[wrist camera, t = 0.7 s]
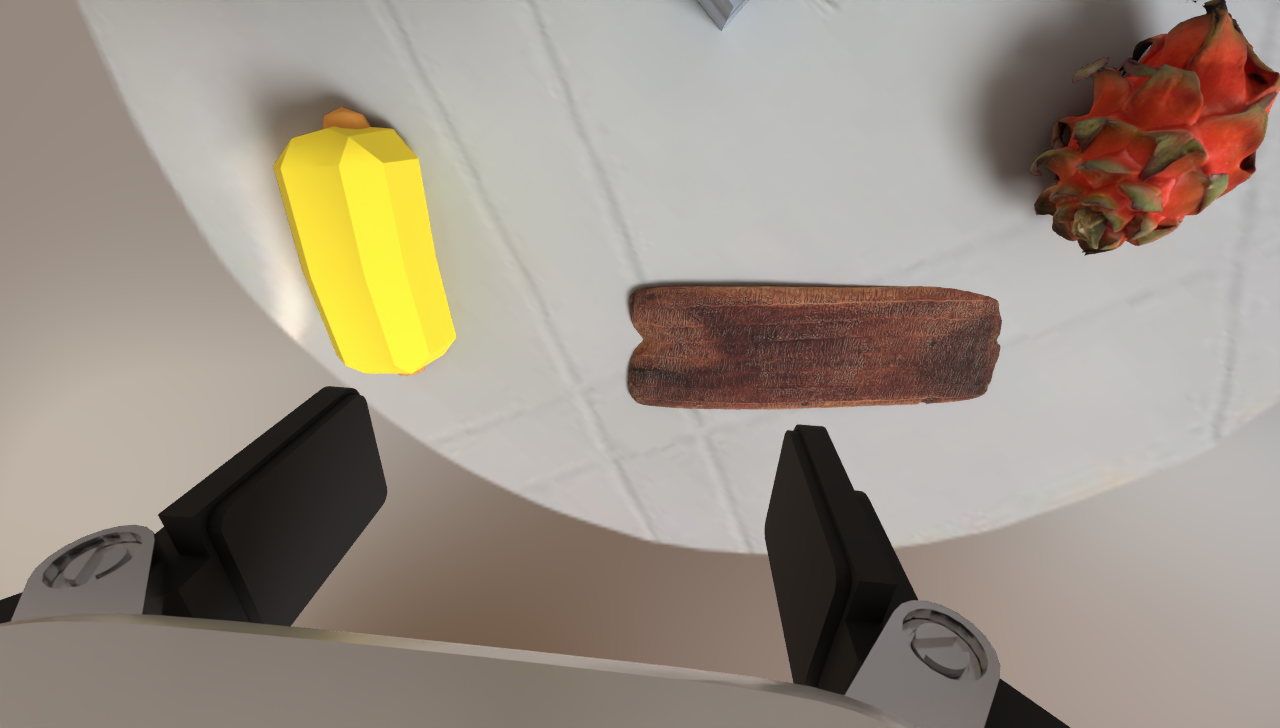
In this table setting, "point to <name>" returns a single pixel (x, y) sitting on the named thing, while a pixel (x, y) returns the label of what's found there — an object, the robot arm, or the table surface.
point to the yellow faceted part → (366, 244)
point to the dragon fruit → (1159, 135)
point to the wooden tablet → (811, 346)
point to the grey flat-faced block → (722, 10)
